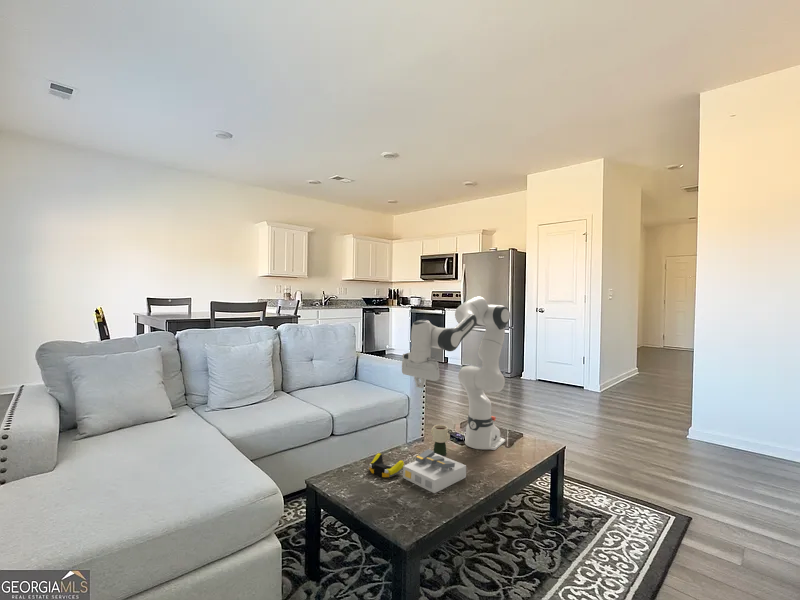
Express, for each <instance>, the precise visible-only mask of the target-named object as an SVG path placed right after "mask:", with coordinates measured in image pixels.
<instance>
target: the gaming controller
mask: <svg viewBox="0 0 800 600" xmlns="http://www.w3.org/2000/svg"><path fill="white" fill-rule="evenodd" d="M383 459H384V458H383V454H382V453H379V452H377V454H375V456H374V458H373V459H372V461H371V462H370V463H369V465H368V466H369V468H368V469H369V471H370V473H371V474H374V475H376V476H378V477H381V478H391V477H394V476H396V475H398V474H399V473H400V472H401V471H403V466H404V465H405V462H404V460H399V461H397V462H396V463H395V464H394V465H393V466H390V465H387V464H385V463H384V461H383Z"/></svg>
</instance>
